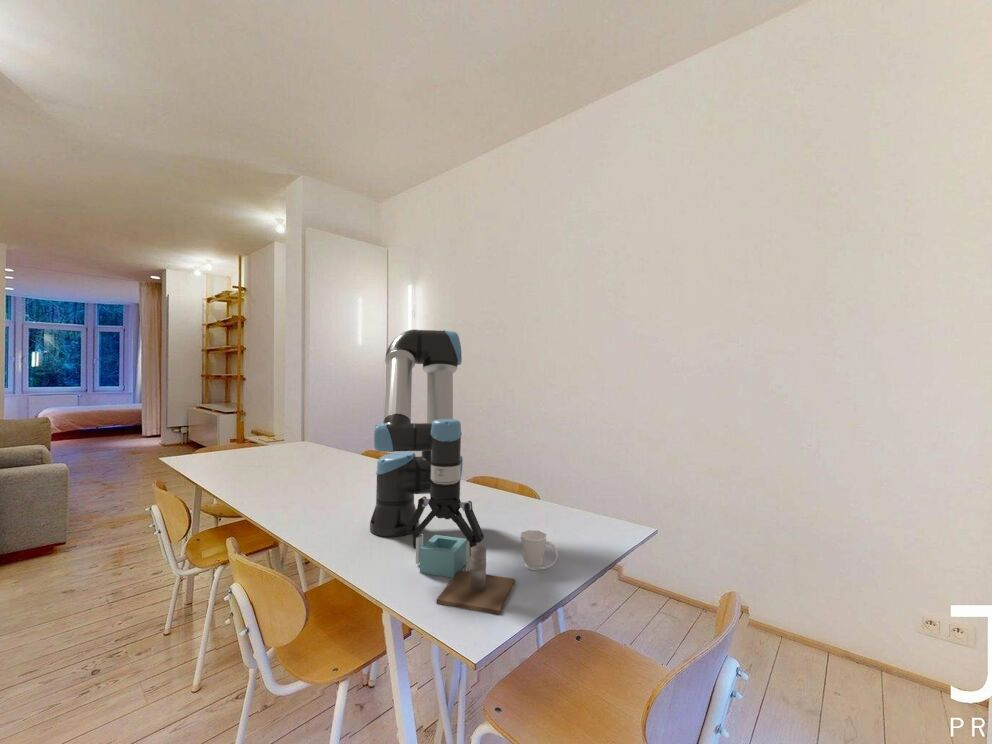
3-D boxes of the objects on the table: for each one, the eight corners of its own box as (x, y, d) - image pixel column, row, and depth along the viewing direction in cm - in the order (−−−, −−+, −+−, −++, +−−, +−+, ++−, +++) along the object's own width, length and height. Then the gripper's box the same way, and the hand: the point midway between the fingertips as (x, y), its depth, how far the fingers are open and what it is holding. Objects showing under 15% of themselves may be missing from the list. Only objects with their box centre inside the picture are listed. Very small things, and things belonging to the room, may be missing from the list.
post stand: (436, 603, 91) (437, 557, 91) (459, 573, 104) (460, 533, 104) (499, 614, 87) (500, 566, 87) (515, 582, 100) (515, 540, 100)
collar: (419, 572, 104) (420, 548, 104) (434, 557, 113) (435, 534, 113) (453, 577, 102) (454, 552, 102) (466, 561, 110) (467, 538, 110)
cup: (525, 558, 113) (526, 528, 113) (561, 566, 109) (562, 535, 109) (514, 568, 107) (515, 537, 107) (552, 578, 102) (552, 545, 102)
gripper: (393, 480, 107) (392, 564, 107) (488, 488, 100) (486, 578, 100) (407, 473, 114) (406, 552, 114) (496, 481, 108) (495, 565, 107)
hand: (443, 565), depth 107 cm, fingers open, 13 cm apart
